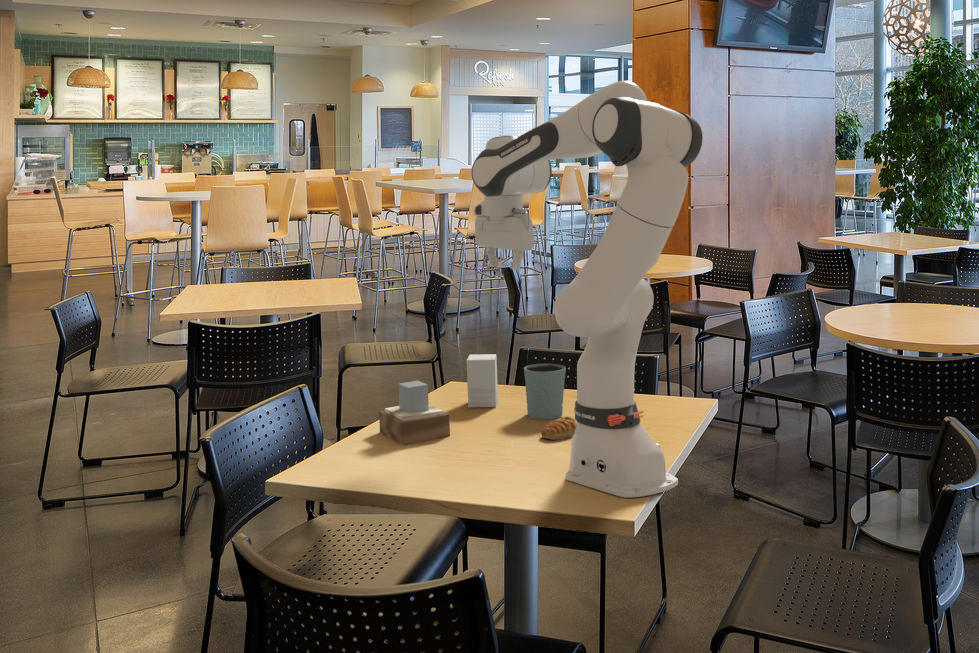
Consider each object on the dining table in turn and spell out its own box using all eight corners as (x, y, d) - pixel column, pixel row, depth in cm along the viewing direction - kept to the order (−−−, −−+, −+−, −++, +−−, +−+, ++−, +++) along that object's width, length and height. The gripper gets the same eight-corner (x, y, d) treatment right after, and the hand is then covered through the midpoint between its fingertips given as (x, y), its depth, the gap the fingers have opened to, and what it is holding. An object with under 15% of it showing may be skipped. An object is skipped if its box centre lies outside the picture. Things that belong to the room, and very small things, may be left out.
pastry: (558, 443, 197) (557, 427, 196) (533, 439, 201) (533, 422, 200) (581, 434, 204) (581, 417, 203) (557, 429, 208) (557, 413, 207)
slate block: (428, 410, 204) (427, 384, 203) (409, 413, 201) (408, 387, 200) (418, 405, 208) (417, 380, 207) (399, 409, 206) (398, 383, 205)
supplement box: (498, 400, 235) (497, 353, 233) (496, 408, 227) (495, 359, 225) (470, 400, 235) (469, 353, 233) (467, 407, 228) (466, 359, 226)
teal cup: (521, 419, 216) (521, 371, 214) (527, 409, 226) (526, 362, 224) (563, 420, 214) (563, 372, 212) (567, 410, 224) (567, 363, 222)
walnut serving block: (449, 435, 204) (449, 411, 203) (402, 444, 198) (401, 419, 197) (425, 424, 214) (424, 400, 213) (379, 432, 208) (378, 408, 207)
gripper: (540, 208, 199) (541, 270, 201) (492, 206, 216) (493, 263, 218) (516, 209, 195) (517, 272, 198) (469, 207, 213) (471, 265, 215)
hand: (504, 267), depth 208 cm, fingers open, 8 cm apart
